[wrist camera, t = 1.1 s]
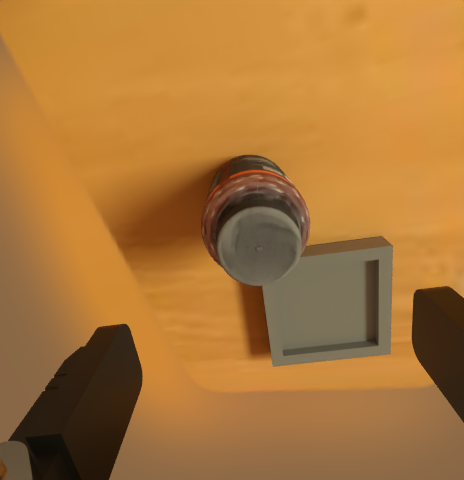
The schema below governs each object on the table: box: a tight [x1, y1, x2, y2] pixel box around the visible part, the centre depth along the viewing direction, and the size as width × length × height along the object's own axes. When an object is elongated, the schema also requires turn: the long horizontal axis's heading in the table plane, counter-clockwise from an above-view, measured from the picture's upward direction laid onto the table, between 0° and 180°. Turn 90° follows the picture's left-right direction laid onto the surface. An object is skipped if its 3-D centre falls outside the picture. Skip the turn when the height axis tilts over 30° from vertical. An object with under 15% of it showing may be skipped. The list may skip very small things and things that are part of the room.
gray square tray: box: [262, 236, 393, 367], centre depth 28 cm, size 10×10×2 cm
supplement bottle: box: [201, 155, 310, 286], centre depth 21 cm, size 6×6×11 cm
